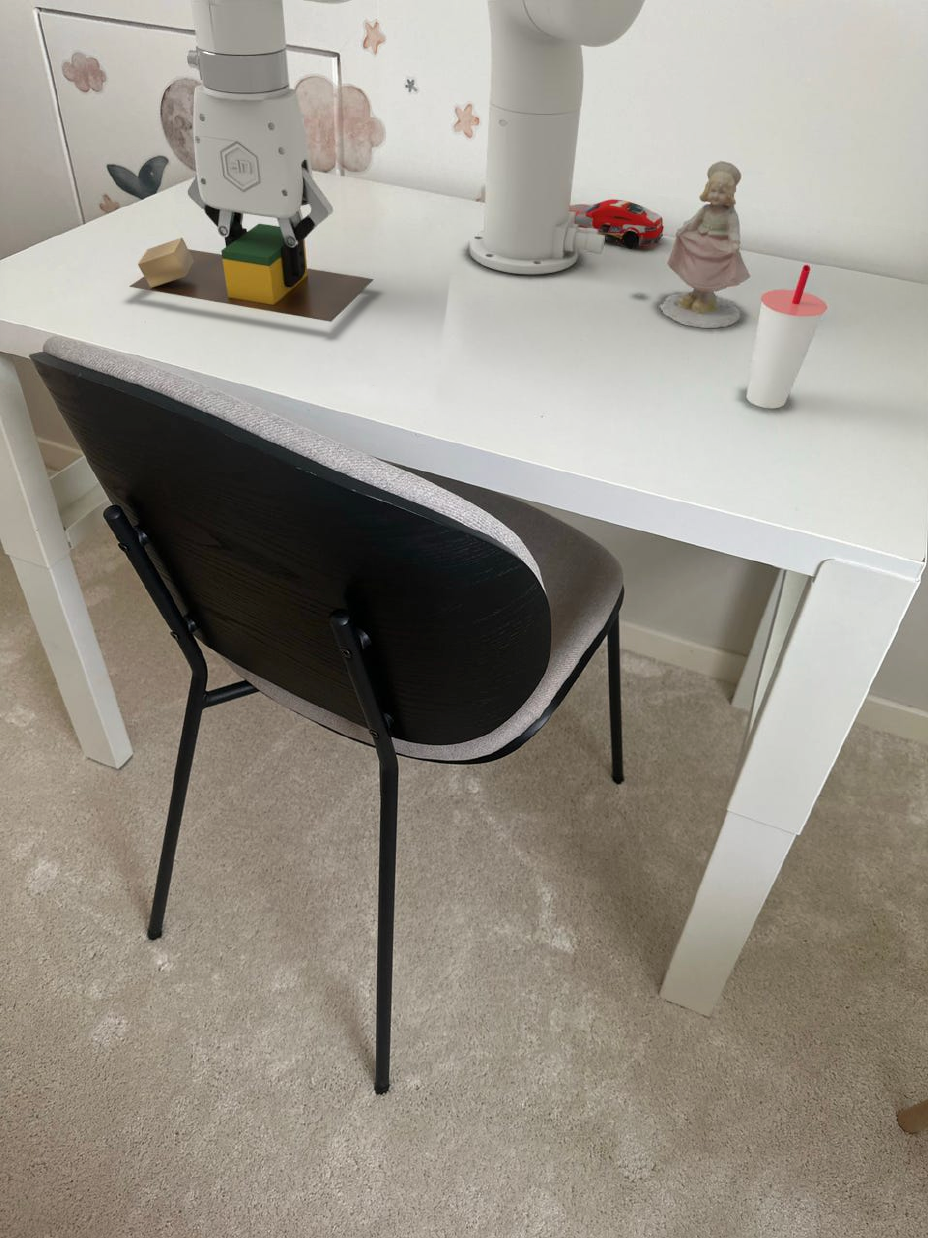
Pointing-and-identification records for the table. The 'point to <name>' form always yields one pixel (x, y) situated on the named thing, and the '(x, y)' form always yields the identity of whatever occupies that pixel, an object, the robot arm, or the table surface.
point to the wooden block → (166, 262)
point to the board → (308, 298)
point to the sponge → (257, 265)
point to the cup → (782, 342)
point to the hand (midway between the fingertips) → (268, 276)
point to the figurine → (709, 255)
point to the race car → (620, 222)
